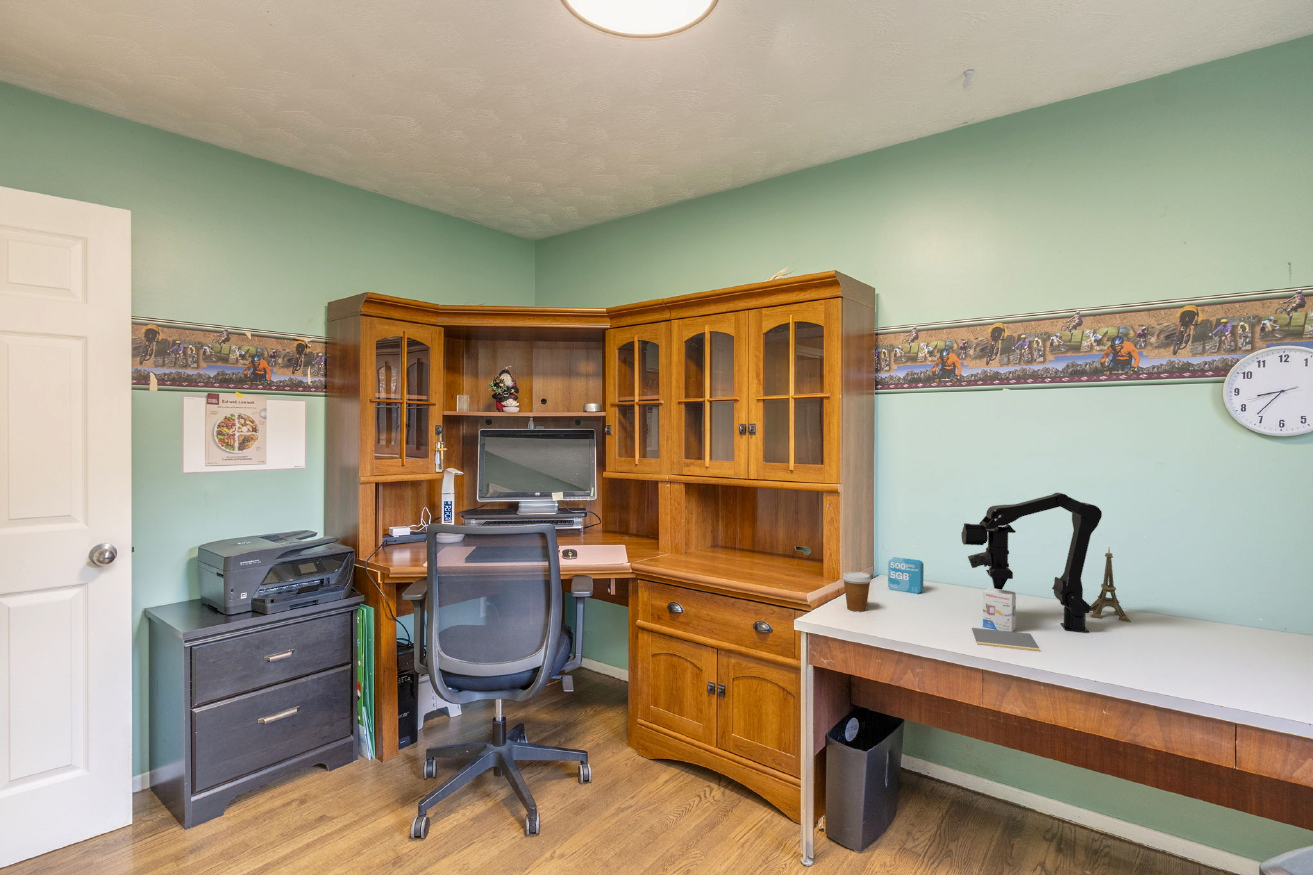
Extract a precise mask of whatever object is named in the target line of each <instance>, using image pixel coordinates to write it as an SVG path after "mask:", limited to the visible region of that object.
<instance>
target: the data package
mask: <svg viewBox="0 0 1313 875" xmlns="http://www.w3.org/2000/svg"><path fill="white" fill-rule="evenodd" d="M887 564H888V565H887V587H888V588H889V590H891V591H896V592H903V593H909V594H915V595H917V594H919V593H921V592H922V591H923V590H924V576H925V575H924V570H925V569H924V562H923V561H922V560H920V559H912V558H905V557H896V556H895V557H892V558H891V559H889V560H888V562H887Z"/></svg>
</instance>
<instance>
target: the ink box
mask: <svg viewBox="0 0 1313 875" xmlns="http://www.w3.org/2000/svg"><path fill="white" fill-rule="evenodd" d="M1016 595H1017V594H1016V592H1015V591H1011V590H1006V589H1002V590H1001V589H995V588H994V587H986V588H984V589H983V591H982V628H984V629H990V630H1000V631H1010V632H1015V630H1016V621H1017V620H1016V616H1017V614H1016V611H1017V610H1016V605H1017V604H1016V603H1017V597H1016Z"/></svg>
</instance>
